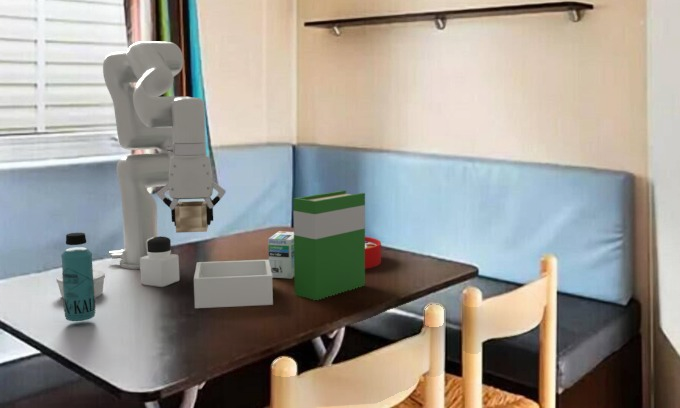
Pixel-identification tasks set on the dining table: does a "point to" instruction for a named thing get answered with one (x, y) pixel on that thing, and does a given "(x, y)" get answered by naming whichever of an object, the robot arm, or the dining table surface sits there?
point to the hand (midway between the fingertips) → (192, 223)
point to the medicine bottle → (159, 263)
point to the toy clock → (372, 252)
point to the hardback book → (329, 244)
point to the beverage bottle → (78, 280)
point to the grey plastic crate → (233, 283)
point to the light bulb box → (281, 254)
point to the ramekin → (97, 278)
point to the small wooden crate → (191, 216)
